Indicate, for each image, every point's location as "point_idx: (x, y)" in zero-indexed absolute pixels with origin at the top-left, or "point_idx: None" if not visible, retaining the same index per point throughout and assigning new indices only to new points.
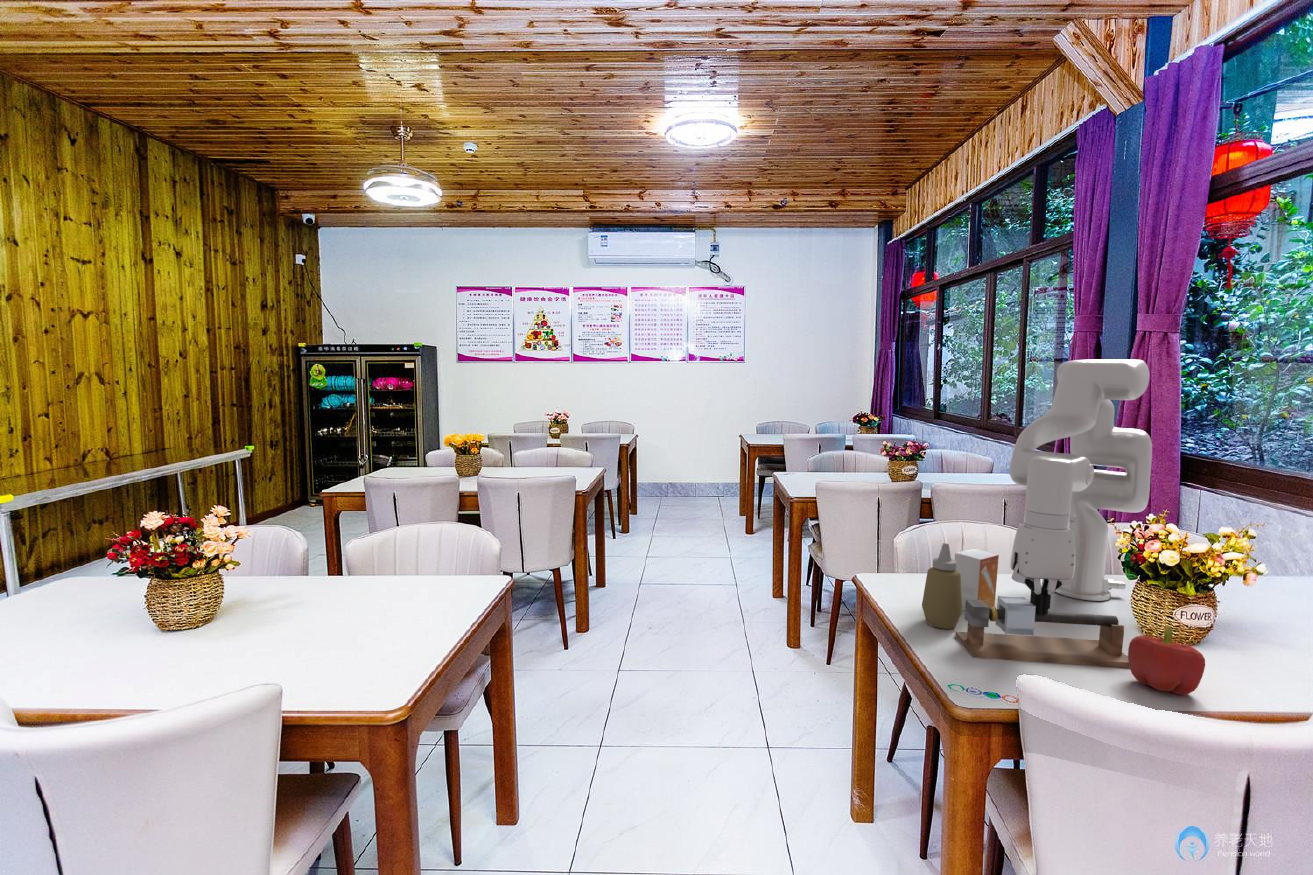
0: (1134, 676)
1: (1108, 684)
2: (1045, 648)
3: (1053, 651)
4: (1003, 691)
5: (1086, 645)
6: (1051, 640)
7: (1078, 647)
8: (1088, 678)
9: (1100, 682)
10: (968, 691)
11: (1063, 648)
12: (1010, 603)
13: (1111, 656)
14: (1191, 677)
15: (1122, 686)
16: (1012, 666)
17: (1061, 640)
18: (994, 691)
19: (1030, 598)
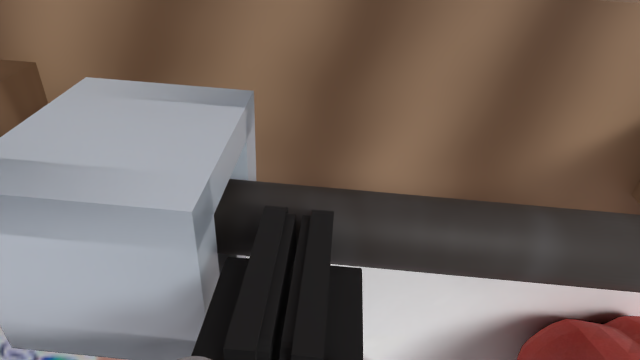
0: (519, 353)
1: (423, 330)
2: (350, 147)
3: (369, 175)
4: (94, 356)
5: (612, 100)
6: (454, 44)
7: (540, 125)
8: (386, 303)
9: (407, 321)
10: (5, 355)
11: (445, 142)
12: (32, 329)
13: (617, 207)
14: None
15: (459, 338)
16: None
17: (520, 38)
18: (71, 356)
19: (210, 302)
